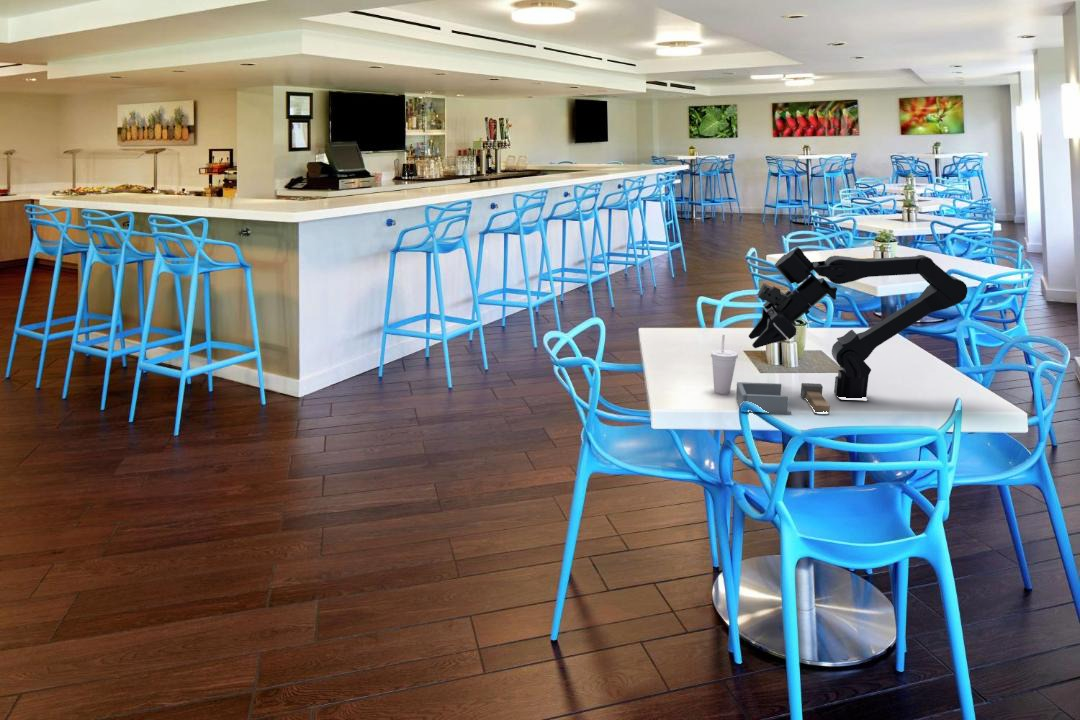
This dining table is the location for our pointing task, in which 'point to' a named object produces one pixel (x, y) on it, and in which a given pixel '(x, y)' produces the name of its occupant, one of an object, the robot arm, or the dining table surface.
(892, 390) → the dining table surface
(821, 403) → the capped slat
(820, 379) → the dining table surface
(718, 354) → the smoothie
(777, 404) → the endcap cradle
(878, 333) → the robot arm
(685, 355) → the dining table surface
